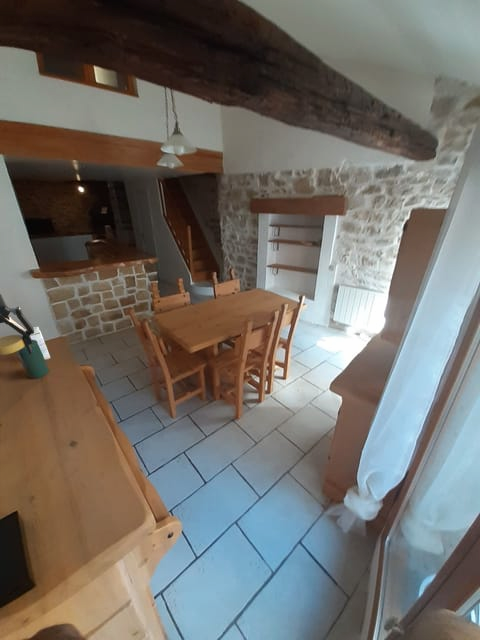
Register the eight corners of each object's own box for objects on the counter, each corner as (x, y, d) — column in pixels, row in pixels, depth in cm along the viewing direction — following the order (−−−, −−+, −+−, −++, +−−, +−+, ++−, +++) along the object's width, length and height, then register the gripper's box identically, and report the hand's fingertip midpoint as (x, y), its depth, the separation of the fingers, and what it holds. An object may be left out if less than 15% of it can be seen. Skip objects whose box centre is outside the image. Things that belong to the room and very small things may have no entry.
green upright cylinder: (26, 381, 101) (11, 351, 94) (30, 370, 107) (17, 341, 100) (47, 376, 103) (34, 346, 97) (50, 366, 109) (39, 338, 103)
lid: (24, 338, 92) (21, 332, 90) (28, 348, 86) (24, 341, 85) (-8, 347, 86) (-11, 340, 85) (-5, 358, 81) (-9, 351, 80)
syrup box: (33, 357, 115) (21, 330, 108) (49, 352, 118) (38, 325, 112) (35, 363, 111) (22, 335, 104) (51, 358, 115) (40, 330, 108)
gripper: (28, 286, 86) (50, 342, 96) (-61, 299, 75) (-25, 361, 85) (26, 292, 80) (51, 351, 91) (-70, 308, 69) (-30, 373, 80)
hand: (14, 356), depth 88 cm, fingers closed on lid, 8 cm apart
